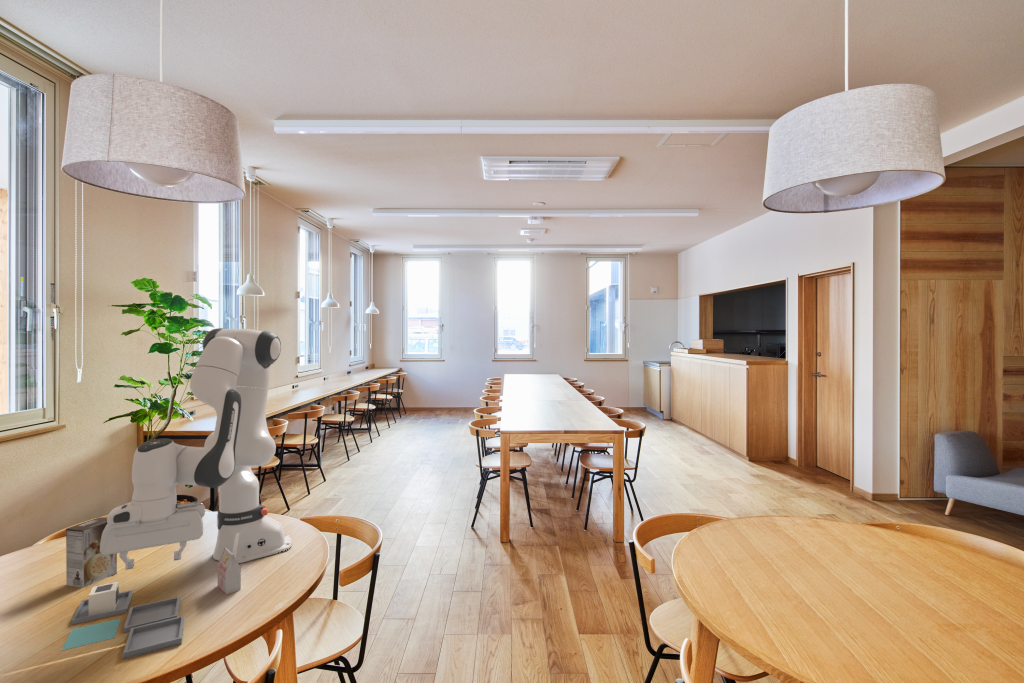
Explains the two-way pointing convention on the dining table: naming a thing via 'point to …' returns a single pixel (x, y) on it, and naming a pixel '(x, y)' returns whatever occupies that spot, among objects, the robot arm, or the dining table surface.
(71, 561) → the coffee box
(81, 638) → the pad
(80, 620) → the dish
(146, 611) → the dish
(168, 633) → the dish
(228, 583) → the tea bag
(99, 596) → the white cube
